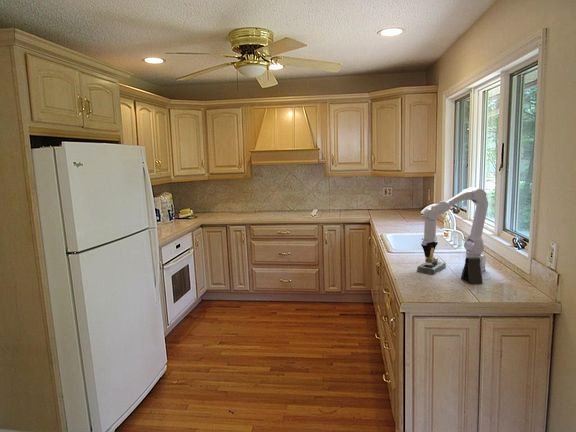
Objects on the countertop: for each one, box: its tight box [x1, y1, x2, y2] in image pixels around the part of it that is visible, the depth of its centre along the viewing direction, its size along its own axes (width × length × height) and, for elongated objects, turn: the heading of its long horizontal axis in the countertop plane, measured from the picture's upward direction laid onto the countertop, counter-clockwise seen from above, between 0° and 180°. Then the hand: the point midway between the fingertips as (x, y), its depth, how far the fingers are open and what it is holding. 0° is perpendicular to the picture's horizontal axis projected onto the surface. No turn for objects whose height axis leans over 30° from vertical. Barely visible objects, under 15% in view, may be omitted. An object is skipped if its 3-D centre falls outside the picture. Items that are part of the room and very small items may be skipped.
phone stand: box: [460, 257, 484, 285], centre depth 193 cm, size 9×6×12 cm, turn 6°
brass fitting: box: [424, 247, 435, 263], centre depth 210 cm, size 4×4×8 cm
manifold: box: [416, 256, 447, 275], centre depth 214 cm, size 9×16×6 cm, turn 137°
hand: (429, 256), depth 210 cm, fingers closed on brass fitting, 4 cm apart
